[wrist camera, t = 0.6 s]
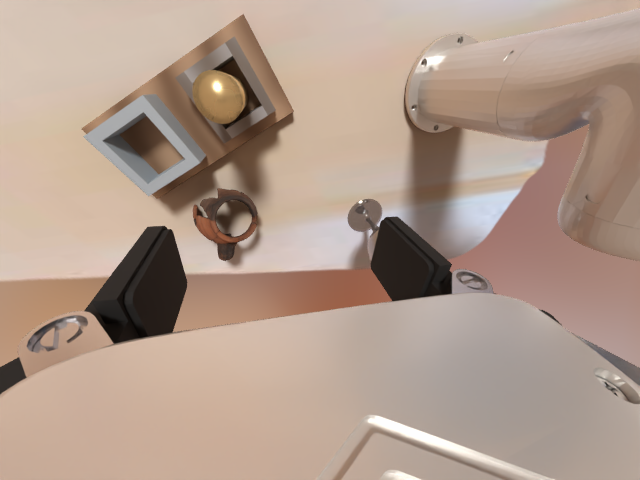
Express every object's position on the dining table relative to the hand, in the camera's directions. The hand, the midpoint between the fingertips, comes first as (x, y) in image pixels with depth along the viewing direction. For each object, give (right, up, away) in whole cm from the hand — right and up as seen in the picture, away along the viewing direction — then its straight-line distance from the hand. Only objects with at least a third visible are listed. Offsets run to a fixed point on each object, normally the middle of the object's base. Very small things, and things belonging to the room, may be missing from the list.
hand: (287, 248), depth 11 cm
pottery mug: (-15, +5, +30) cm, 34 cm away
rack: (-20, +13, +20) cm, 32 cm away
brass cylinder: (-10, +19, +19) cm, 29 cm away
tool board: (-15, +17, +21) cm, 31 cm away
